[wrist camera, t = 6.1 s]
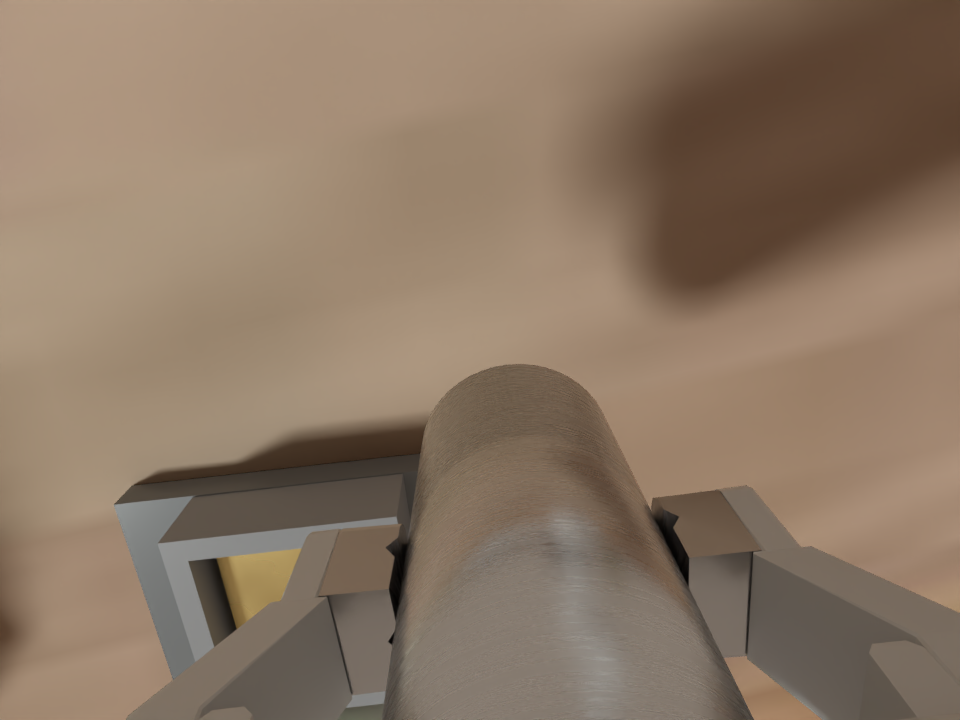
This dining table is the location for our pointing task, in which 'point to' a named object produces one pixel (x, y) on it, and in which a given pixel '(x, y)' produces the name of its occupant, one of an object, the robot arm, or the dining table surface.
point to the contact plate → (255, 580)
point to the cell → (542, 572)
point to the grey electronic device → (248, 540)
